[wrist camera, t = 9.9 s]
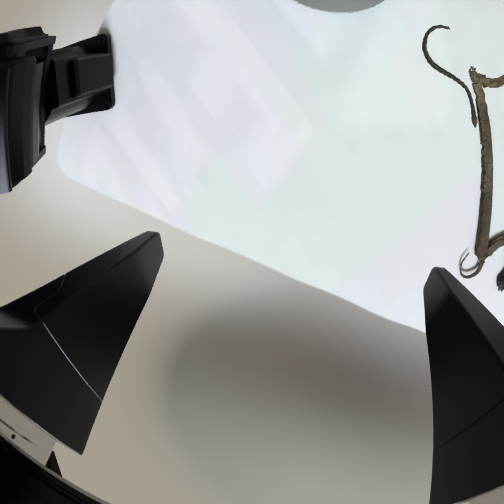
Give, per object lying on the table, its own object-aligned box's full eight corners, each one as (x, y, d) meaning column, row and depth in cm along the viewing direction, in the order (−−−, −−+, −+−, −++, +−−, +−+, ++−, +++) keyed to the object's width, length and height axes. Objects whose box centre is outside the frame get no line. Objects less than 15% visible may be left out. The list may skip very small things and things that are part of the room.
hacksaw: (507, 284, 22) (512, 293, 21) (425, 297, 26) (428, 308, 24) (524, 37, 9) (534, 38, 8) (413, 23, 13) (420, 21, 12)
